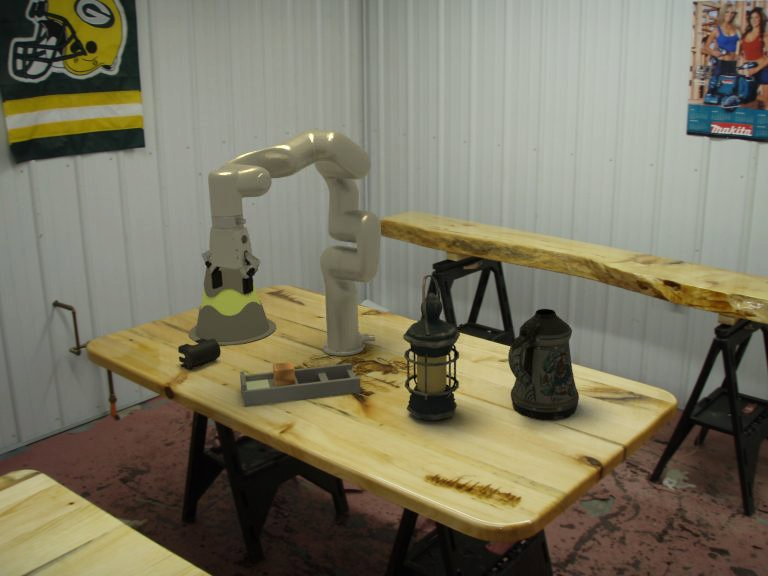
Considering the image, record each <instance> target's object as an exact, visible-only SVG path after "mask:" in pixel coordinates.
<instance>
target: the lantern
mask: <svg viewBox="0 0 768 576" xmlns="http://www.w3.org/2000/svg"><path fill="white" fill-rule="evenodd" d="M428 278H431V279H432V280H433V282H434V284H435V289H436V294H435V293H433V292H430V293H428V294H427V296H426V285H427V284H426V282H427V279H428ZM439 285H440V284H439V283H438V280H437V279H436V277H435V276H434V275H430V274H428V275H425V276H423V278H422V287H421V288H422V289H421V291H422V292H421V293H422V294H421V297H422V298H421V299H422V300H421V301H422V302H421V304H420V312H421V315H422V316H423V318H422V319H419V320H418V321H417V322H414V323H412V324H411V325H410V326H409V328H407V330H406V331H405V333H404V334H403V336H402V339H403V340H404V341H406V342H407V343H409V345H410V346H409V347H410V348H408V349H407V350H405V351H404V355H403V356H404V358H405V360H406V372H407V373H406V375H407V379H405V381H404V387H405V389H406V390H407V391H408V393H410V395H409V400H408V405H407V407H406V410H407V411H408V412H409V413H410V414H412V415H413V416H414V417H416V418H417V419H420V420H421V419H422V420H428V421H429V420H430V421H438V420H442V419H446V418H449V417H452V416H453V415H454V413H455V411H456V409H457V407H458V404H457V402H456V398H455V394H454V392H456V391H457V390H458V389H459V388H460V387H459V385H460V382H459V380H458V379H457V360H459V359H460V352H459V350H457V347H456V345H455V344H456V343H457V341H458V340H459V338H460V337H461V332H459V331H458V328H457V327H456V326H453V325H452V324H450V323H449V322H446V321H445V320H443V319H441V314H442V312H443V303H442V300H441V290H440V286H439ZM410 352H412V353H413V355H412V357H413V359H412V358H410ZM451 352H453V358H452V356H451ZM447 356H448V357H447ZM447 358H448V360H447ZM410 363H412V364H413V375H411V376H410ZM452 363H453V376H452ZM447 365H448V368H447ZM447 371H448V374H447ZM447 378H448V384H447ZM412 380H413V382H414V384H415V386H414V387H413V388H411V387H410V386H411V385H410V382H411V381H412ZM452 381H453V384H452Z"/></svg>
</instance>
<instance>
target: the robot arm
mask: <svg viewBox="0 0 768 576" xmlns="http://www.w3.org/2000/svg"><path fill="white" fill-rule="evenodd" d="M313 164H314V166H315V169H316V171H317V172H318V173H319V174H320V175H321V177H322V178H323V180H324V182H325V183H326V185H327V187H328V192H329V194H328V195H329V199H328V215H327V216H328V217H327V233H328V235H329V237H330V238H331V239H333V240H334V241H335V240H336V241H339V242H344V243H352V244H356V247H353V246H348V245H347V246H345V245H331V246H327V247H326V248H325V249H324V250H323V251H322V253H321V256H320V259H319V265H320V271H321V274H322V279H323V284H324V293H325V294H324V296H325V297H324V298H325V299H324V301H325V320H326V321H325V322H326V341H325V342H323V344H322V348H321V349H322V351H323V352H324V353H325V354H327V355H330V356H334V357H335V356H336V357H337V356H338V357H345V356H353V355H357V354H359V353H361V352H363V351H364V350H365V343H366V342H369V343H370V342H371V343H372V342H375V340H376V338H375V335H374V334H369V333H363V334H361V333H360V332H359V329H360V327H359V301H358V299H359V298H358V296H359V294H358V288H357V285H356V283H355V282H357V283H364V284H367V283H371V282H372V281H373V280H374V279H375V278H376V276H377V274H378V272H379V271H378V270H379V265H380V253H381V241H382V240H381V238H382V227H381V221H380V218H379V217H378V216H377V214H376V213H374V212H372V211H369V210H363V209H362V210H361V209H360V207H359V205H360V203H359V200H360V191H359V187H358V185H357V182H356V181H357V180H362V179H364V178H366V177H367V175H369V173H370V171H371V166H372V163H371V157H370V156H369V154H368V152H367V151H366V150H365V149H364V148H363V147H362V146H360V145H359V144H358V143H357V142H355V141H354V140H353V139H351V138H350V137H348V136H347V135H345V134H344V133H341V132H340V131H337V130H333V129H332V130H329V129H328V130H327V129H307V130H304V131H302V132H301V133H298V134H296V135H294V136H292V137H290V138H288V139H287V140H285V141H282V142H281V143H279V144H277V145H274V146H269V147H268V146H267V147H266V148H262V149H258V150H255V151H252V152H251V151H250V152H247V153H245V154H241V155H239V156H236V157H234V158H233V159H231V160H229V161H226V162H225V163H224V164H222V165H221V166H220V168H219V169H214V170H211V171H210V172H209V173H208V175H207V183H208V194H209V209H210V219H211V227H210V229H209V246H208V247H209V248H208V250H206V251H204V252H203V253H202V254H201V256H202V260H203V261H204V265H205V266H206V267H207V268H208V269H209V273H211V278H212V288H213V289H217V288H219V287H222V286H223V281H222V272H221V271H219V270H220V268H227V269H234V270H240V272H241V273H242V275H243V276H244V278H242V285H243V293H244V294H248V293H250V292H253V283H254V278H253V277H255V274H256V273H257V272H258V270H259V267H260V264H261V260H260V259H259V258H257V257H256V256H255V255H253V250H252V244H251V238H250V234H249V230H248V227H247V226H245V225H246V223H247V219H246V218H244V210H243V208H244V207H243V198H259V197H263V196H264V195H266V194H267V193H268V192H269V190H271V189H270V188H271V187H272V181H273V180H272V179H282V178H287V177H292V176H293V175H296V174H297V173H298V172H300V171H303V170H304V169H305V168H306V169H307V167H310V166H312V165H313ZM245 268H246V270H247V271H248V272H247V271H246V270H245Z"/></svg>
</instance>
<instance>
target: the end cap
mask: <svg viewBox="0 0 768 576" xmlns="http://www.w3.org/2000/svg"><path fill="white" fill-rule="evenodd" d="M194 342H195V343H196V344H189V343H185V344H181V345H179V346H178V348H177V349H178V350H177V351H178V352H177V353H179V354H181V355H183V357H182V356H178V360H179V363H181V364H180V367H181V368H183V369H186V370H193V369H196V368H198V367H201V366H204V365H207V364H209V363H212V362H215V361H216V360H218V359H219V357H220V356H221V352H222V350H221V347H220V346H221V345H219V344H218V342H217V341H216V340H215V339H210V340H206V339H203V338H202V339H199V340H196V341H194Z"/></svg>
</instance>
